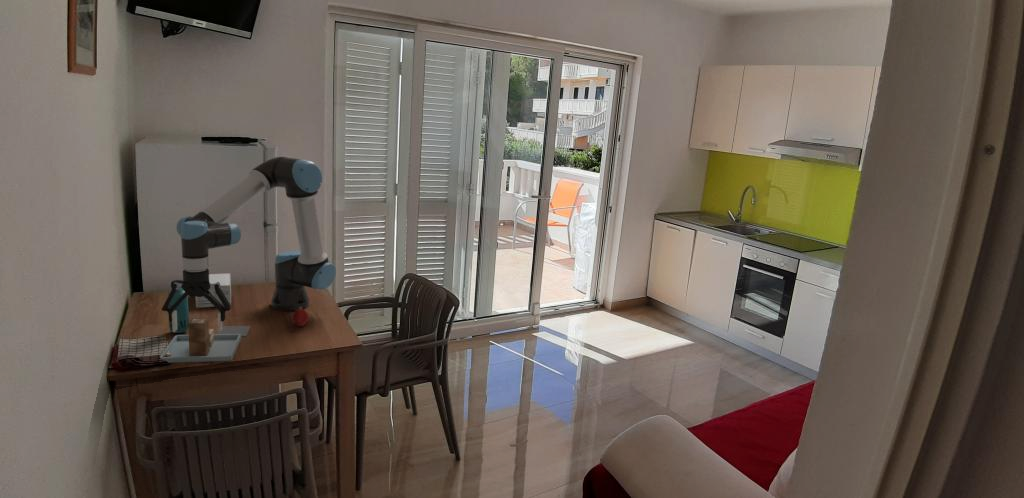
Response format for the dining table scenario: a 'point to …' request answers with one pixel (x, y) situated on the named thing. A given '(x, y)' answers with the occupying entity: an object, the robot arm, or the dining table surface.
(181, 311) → the beverage bottle
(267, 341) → the dining table surface
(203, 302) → the supplement box
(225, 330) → the slate coaster
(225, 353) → the bin
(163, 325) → the dining table surface
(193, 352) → the walnut box
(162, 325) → the dining table surface
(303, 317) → the onion
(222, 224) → the robot arm
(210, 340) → the birch block
